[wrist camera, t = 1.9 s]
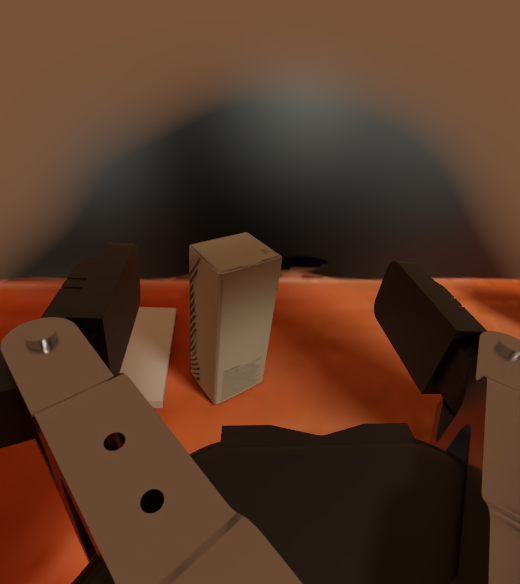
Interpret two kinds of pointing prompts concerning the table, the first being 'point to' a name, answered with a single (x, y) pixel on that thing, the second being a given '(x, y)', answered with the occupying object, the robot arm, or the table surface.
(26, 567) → the table surface
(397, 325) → the robot arm
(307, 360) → the table surface
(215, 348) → the box
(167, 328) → the board
